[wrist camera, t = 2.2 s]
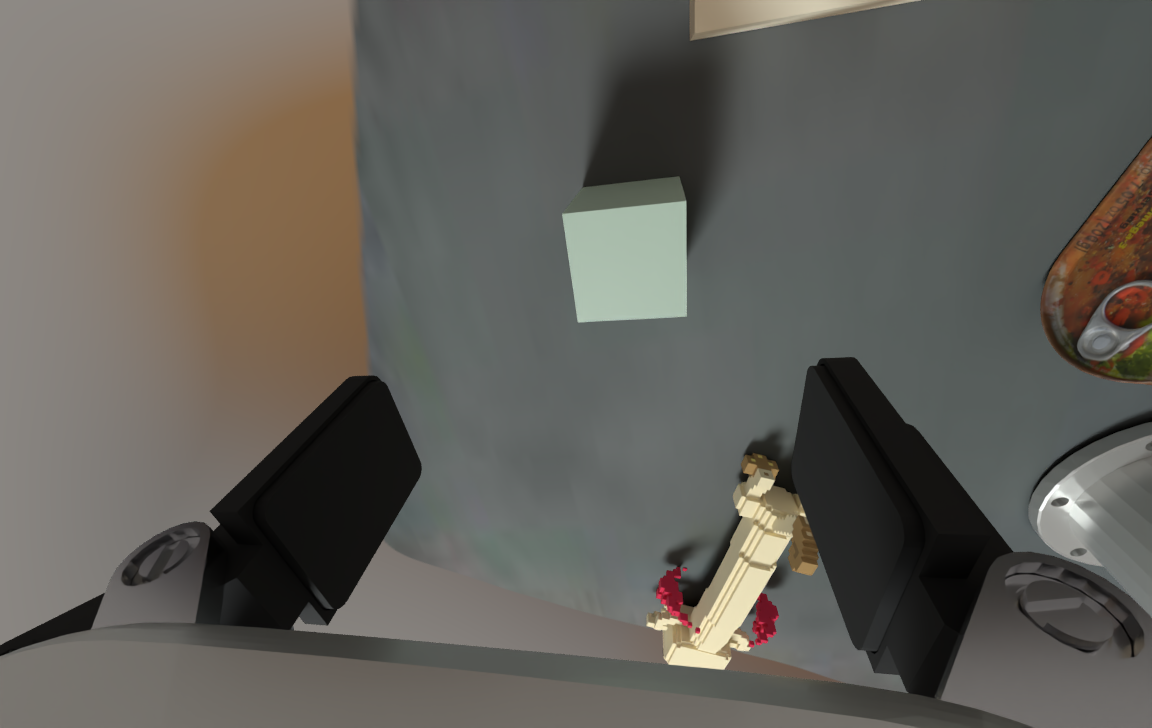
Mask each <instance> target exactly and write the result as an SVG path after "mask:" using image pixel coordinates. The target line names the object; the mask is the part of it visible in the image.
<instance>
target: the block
mask: <svg viewBox="0 0 1152 728" xmlns="http://www.w3.org/2000/svg"><path fill="white" fill-rule="evenodd" d="M562 215H563V222H564V229H565V236H566V243H567V250H568V257H569V264H570V271H571V278H572V284H573V291H574V298H575V305H576V312H577V319H578V322H592V321H611V320H630V319H649V318H667V317H686V316H687V258H686V198H685V194H684V191H683V187H682V184H681V180H680V177H679V176H677V177H669V178H660V179H651V180H643V181H634V182H625V183H617V184H608V185H600V186H591V187H582V189H581V190H580V191H579V193H578V194H577V195H576V197H575V198H574V199H573V201H572V202H571V203H570V204H569V206H568V207H567V208H566V210H565V211H564V212H563V214H562Z"/></svg>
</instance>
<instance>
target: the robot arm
mask: <svg viewBox="0 0 1152 728" xmlns="http://www.w3.org/2000/svg"><path fill="white" fill-rule="evenodd" d="M421 470H422V467H421V462H420V459H419V457H418V455H417V453H416V450H415V448H414V446H413V443H412V441H411V439H410V437H409V434H408V432H407V430H406V427H405V425H404V423H403V421H402V418H401V416H400V414H399V411H398V409H397V407H396V405H395V402H394V400H393V398H392V395H391V393H390V391H389V388H388V386H387V385H386V383H384V382H382V381H381V380H380V379H379V378H378V377H377V376H352V377H349V378H348V379H346V380H345V381H344V382H343V383H342V384H341V385H340V386H339V387H338V388H337V389H336V390H335V391H334V392H333V393H332V394H331V395H330V396H329V397H328V398H327V399H326V400H324V402H322V403H321V404H320V405H319V406H318V407H317V408H316V409H315V410H314V411H313V412H312V413H311V414H310V415H309V416H308V417H307V418H306V419H305V420H304V421H303V422H302V423H301V424H300V425H299V426H298V427H296V428H295V429H294V430H293V431H292V432H291V433H290V434H289V435H288V436H287V437H286V438H285V439H284V440H283V441H282V442H281V443H280V444H279V445H278V446H277V447H276V448H275V449H274V450H273V451H272V452H271V453H270V454H268V455H267V456H266V457H265V458H264V460H262V461H261V462H260V463H259V464H258V465H257V466H256V467H255V468H254V469H253V470H252V471H251V472H250V473H249V474H248V475H247V476H246V477H245V478H244V479H243V480H242V481H240V482H239V483H238V484H237V486H235V487H234V488H233V489H232V490H231V491H230V492H229V493H228V494H227V495H226V496H225V497H224V498H223V499H222V500H221V501H220V502H219V503H218V504H217V505H216V506H215V507H214V508H212V510H210V512H211V513H212V515H213V516H214V517H215V518H216V519H217V520H218V522H219V523H220V525H219V526H218V527H217V528H216V529H215V530H214V531H213V530H212V529H211V528H210V527H209V526H208V525H207V524H206V523H204V522H197V521H194V522H188V523H183V524H180V525H177V526H174V527H171V528H169V529H167V530H165V531H163V532H161V533H159V534H157V535H155V536H154V537H152V538H151V539H149V540H148V541H146V542H144V543H143V544H142V545H140V546H139V547H138V548H136V549H135V550H134V551H133V552H132V553H130V554H129V555H128V556H127V557H126V558H125V559H124V560H123V562H122V563H121V564H120V565H119V566H118V567H117V568H116V570H115V572H114V574H113V575H112V577H111V579H110V582H109V584H108V587H107V589H106V592H105V593H103V594H101V595H99V596H98V597H96V598H93V599H92V600H89V601H87V602H85V603H83V604H81V605H79V606H77V607H75V608H73V609H71V610H69V611H68V612H65V613H64V614H61V615H59V616H58V617H55V618H53V619H51V620H49V621H48V622H45V623H44V624H41V625H39V626H37V627H35V628H33V629H32V630H30V631H27V632H26V633H23V634H21V635H19V636H17V637H15V638H14V639H12V640H9V641H7V642H5V643H4V644H2V645H0V728H1152V618H1151V617H1152V422H1148V423H1144V424H1141V425H1138V426H1135V427H1131V428H1128V429H1125V430H1122V431H1119V432H1116V433H1114V434H1112V435H1109V436H1107V437H1105V438H1102V439H1100V440H1098V441H1095V442H1093V443H1091V444H1089V445H1088V446H1086V447H1084V448H1082V449H1081V450H1079V451H1077V452H1075V453H1073V454H1072V455H1070V456H1069V457H1068V458H1066V459H1065V460H1064V461H1062V462H1061V463H1060V464H1058V465H1057V466H1055V467H1054V468H1053V469H1052V470H1051V471H1050V472H1049V473H1048V474H1047V475H1046V476H1045V477H1044V478H1043V479H1042V481H1041V482H1040V484H1039V485H1038V487H1037V488H1036V490H1035V491H1034V493H1033V494H1032V497H1031V501H1030V504H1029V520H1030V522H1031V525H1032V527H1033V529H1034V530H1035V531H1036V533H1037V534H1038V535H1039V536H1040V537H1041V539H1042V540H1043V541H1044V542H1045V543H1046V544H1047V545H1048V546H1049V547H1050V548H1052V549H1053V550H1054V551H1055V552H1057V553H1059V554H1061V555H1063V556H1064V557H1067V558H1069V559H1072V560H1076V561H1079V562H1082V563H1086V564H1091V565H1097V566H1104V568H1105V569H1106V570H1107V571H1108V572H1109V573H1110V574H1111V575H1112V576H1113V577H1114V578H1115V579H1116V580H1117V581H1118V582H1119V583H1120V585H1121V586H1122V587H1123V588H1124V589H1125V590H1126V591H1127V592H1128V593H1129V594H1130V595H1131V596H1132V597H1133V598H1134V599H1135V600H1136V601H1135V600H1133V599H1132V598H1131V597H1130V596H1129V595H1128V594H1126V593H1125V592H1124V591H1122V590H1121V589H1119V588H1118V587H1116V586H1115V585H1113V584H1112V583H1111V582H1109V581H1108V580H1106V579H1105V578H1103V577H1101V576H1099V575H1097V574H1095V573H1093V572H1091V571H1089V570H1087V569H1085V568H1084V567H1082V566H1080V565H1077V564H1074V563H1072V562H1069V561H1066V560H1063V559H1060V558H1057V557H1055V556H1050V555H1045V554H1040V553H1034V552H1013V551H1012V550H1011V548H1010V547H1009V546H1008V545H1007V543H1006V542H1005V541H1004V540H1003V538H1002V537H1001V536H1000V534H999V533H998V532H997V531H996V529H995V528H994V527H993V525H992V524H991V523H990V522H989V520H988V519H987V518H986V517H985V515H984V514H983V513H982V511H981V510H980V509H979V508H978V506H977V505H976V504H975V503H974V501H973V500H972V499H971V497H970V496H969V495H968V494H967V492H966V491H965V490H964V488H963V487H962V486H961V485H960V483H959V482H958V481H957V480H956V478H955V477H954V476H953V474H952V473H951V472H950V471H949V469H948V468H947V467H946V466H945V464H944V463H943V462H942V460H941V459H940V458H939V457H938V455H937V454H936V453H935V451H934V450H933V449H932V448H931V446H930V445H929V444H928V443H927V441H926V440H925V439H924V437H923V436H922V435H921V434H920V432H919V431H918V430H917V429H916V428H915V427H914V426H912V425H909V424H906V423H905V422H904V421H903V419H902V418H901V417H900V415H899V414H898V413H897V411H896V410H895V409H894V407H893V406H892V405H891V403H890V402H889V401H888V400H887V398H886V397H885V396H884V394H883V393H882V392H881V390H880V389H879V388H878V386H877V385H876V384H875V383H874V381H873V380H872V379H871V377H870V376H869V375H868V373H867V372H866V371H865V369H864V368H863V367H862V365H861V364H860V363H859V362H858V360H857V359H855V358H853V357H845V358H822V359H820V360H819V362H818V364H817V366H810V367H809V368H808V371H807V375H806V381H805V387H804V393H803V399H802V405H801V411H800V417H799V423H798V429H797V435H796V441H795V447H794V453H793V459H792V466H791V471H792V478H793V482H794V485H795V488H796V490H797V493H798V496H799V499H800V501H801V504H802V507H803V510H804V512H805V515H806V518H807V521H808V523H809V526H810V529H811V532H812V534H813V537H814V540H815V542H816V545H817V548H818V551H819V553H820V556H821V559H822V562H823V564H824V567H825V570H826V573H827V575H828V578H829V581H830V583H831V586H832V589H833V592H834V594H835V597H836V600H837V603H838V605H839V608H840V611H841V614H842V616H843V619H844V622H845V625H846V627H847V630H848V633H849V635H850V638H851V640H852V643H853V644H854V646H855V648H857V649H858V650H866V652H867V655H868V658H869V660H870V663H871V665H872V668H873V671H874V673H883V674H894V675H900V677H901V679H902V681H903V684H904V686H905V688H906V691H907V692H909V693H903V692H897V691H891V690H885V689H878V688H872V687H866V686H860V685H853V684H846V683H836V682H828V681H819V680H811V679H801V678H793V677H784V676H775V675H766V674H757V673H749V672H739V671H731V670H722V669H711V668H701V667H690V666H680V665H669V664H659V663H648V662H637V661H627V660H617V659H606V658H595V657H585V656H574V655H565V654H553V653H543V652H532V651H521V650H510V649H499V648H488V647H477V646H466V645H454V644H444V643H433V642H432V643H431V642H422V641H410V640H399V639H388V638H377V637H365V636H353V635H341V634H328V633H317V632H305V631H294V628H293V624H294V623H295V621H296V620H297V618H298V617H300V618H301V619H302V621H303V622H304V623H305V624H316V625H328V624H329V623H330V621H331V619H332V617H333V616H334V614H335V613H336V611H337V609H339V608H341V607H342V606H343V605H344V604H345V602H347V600H348V598H349V596H350V595H351V593H352V592H353V590H354V588H355V586H356V585H357V583H358V581H359V580H360V578H361V576H362V575H363V573H364V571H365V570H366V568H367V566H368V564H369V563H370V561H371V559H372V558H373V556H374V554H375V553H376V551H377V549H378V547H379V546H380V544H381V542H382V541H383V539H384V537H385V536H386V534H387V532H388V530H389V529H390V527H391V525H392V524H393V522H394V520H395V519H396V517H397V515H398V513H399V512H400V510H401V508H402V507H403V505H404V503H405V502H406V500H407V498H408V496H409V495H410V493H411V491H412V490H413V488H414V486H415V485H416V483H417V481H418V479H419V478H420V475H421Z"/></svg>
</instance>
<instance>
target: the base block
mask: <svg viewBox="0 0 1152 728" xmlns="http://www.w3.org/2000/svg"><path fill="white" fill-rule="evenodd" d="M914 1H919V0H690V41H692V40H698V39H704V38H709V37H715V36H721V35H726V34H732V33H738V32H743V31H749V30H755V29H760V28H766V27H772V26H778V25H783V24H789V23H795V22H800V21H806V20H812V19H817V18H823V17H829V16H834V15H840V14H846V13H851V12H857V11H863V10H868V9H874V8H880V7H885V6H891V5H897V4H902V3H908V2H914Z"/></svg>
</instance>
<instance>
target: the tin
mask: <svg viewBox="0 0 1152 728" xmlns="http://www.w3.org/2000/svg"><path fill="white" fill-rule="evenodd" d="M1040 311H1041V321H1042V326H1043V329H1044V332H1045V335H1046V337H1047V339H1048V341H1049V342H1050V344H1051V345H1052V346H1053V348H1054V349H1055V351H1056V352H1057V353H1058V354H1059V355H1060V356H1061V357H1062V358H1063V359H1064V360H1066V361H1067V362H1068V363H1069V364H1071V365H1073V366H1074V367H1076V368H1078V369H1079V370H1081V371H1083V372H1086V373H1088V374H1091V375H1093V376H1096V377H1099V378H1102V379H1107V380H1111V381H1117V382H1123V383H1136V384H1147V385H1152V137H1151V138H1150V140H1149V141H1148V142H1147V144H1146V145H1145V146H1144V148H1143V149H1142V150H1141V151H1140V153H1139V154H1138V156H1137V157H1136V158H1135V159H1134V160H1133V162H1132V163H1131V164H1130V166H1129V167H1128V168H1127V170H1126V171H1125V172H1124V174H1123V175H1122V176H1121V177H1120V179H1119V180H1118V181H1117V182H1116V184H1115V185H1114V186H1113V188H1112V189H1111V190H1110V192H1109V193H1108V194H1107V195H1106V197H1105V198H1104V199H1103V200H1102V202H1101V203H1100V204H1099V205H1098V207H1097V208H1096V209H1095V210H1094V212H1093V213H1092V214H1091V216H1090V217H1089V218H1088V219H1087V221H1086V222H1085V223H1084V225H1083V226H1082V227H1081V228H1080V230H1079V231H1078V232H1077V233H1076V235H1075V236H1074V237H1073V239H1072V240H1071V241H1070V242H1069V244H1068V245H1067V246H1066V248H1065V249H1064V250H1063V252H1062V253H1061V254H1060V256H1059V257H1058V259H1057V260H1056V262H1055V263H1054V265H1053V267H1052V268H1051V270H1050V272H1049V275H1048V277H1047V280H1046V282H1045V285H1044V288H1043V292H1042V297H1041V308H1040Z"/></svg>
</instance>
